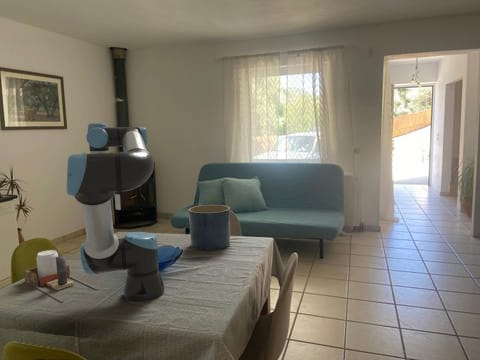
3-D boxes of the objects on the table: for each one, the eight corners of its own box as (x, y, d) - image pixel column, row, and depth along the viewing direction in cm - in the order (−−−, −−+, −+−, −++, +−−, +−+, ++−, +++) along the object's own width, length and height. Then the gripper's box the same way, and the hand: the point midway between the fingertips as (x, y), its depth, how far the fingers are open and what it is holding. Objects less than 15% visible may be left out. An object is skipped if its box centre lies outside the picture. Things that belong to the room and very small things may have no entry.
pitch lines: (98, 289, 145) (98, 288, 145) (61, 302, 134) (61, 301, 134) (70, 276, 159) (70, 275, 159) (35, 287, 148) (34, 286, 148)
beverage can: (51, 284, 151) (48, 256, 150) (34, 283, 153) (31, 255, 151) (64, 276, 159) (61, 250, 158) (48, 275, 161) (45, 249, 159)
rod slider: (79, 282, 151) (76, 254, 149) (51, 292, 143) (49, 262, 141) (66, 277, 158) (64, 250, 156) (40, 285, 149) (37, 257, 148)
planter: (186, 251, 190) (185, 213, 187) (193, 239, 212) (192, 205, 209) (229, 250, 189) (228, 212, 186) (232, 238, 211) (231, 204, 208)
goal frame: (70, 276, 159) (69, 265, 159) (35, 287, 148) (33, 275, 148) (59, 271, 166) (58, 260, 165) (24, 281, 155) (23, 270, 154)
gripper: (121, 159, 162) (124, 206, 164) (65, 163, 143) (69, 216, 145) (131, 159, 157) (134, 207, 160) (75, 164, 138) (79, 219, 141)
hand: (103, 212), depth 153 cm, fingers open, 13 cm apart
